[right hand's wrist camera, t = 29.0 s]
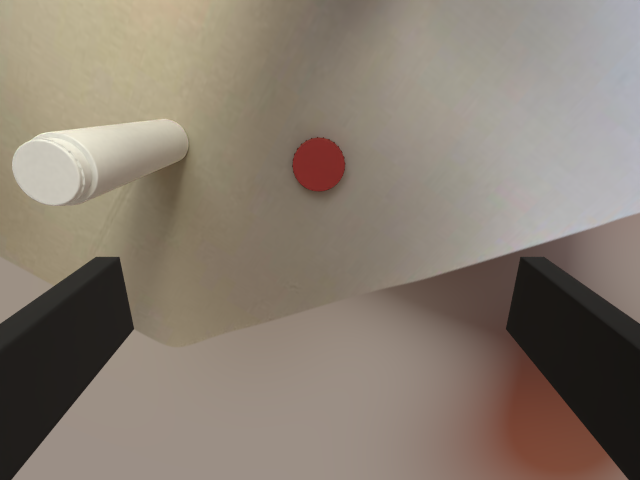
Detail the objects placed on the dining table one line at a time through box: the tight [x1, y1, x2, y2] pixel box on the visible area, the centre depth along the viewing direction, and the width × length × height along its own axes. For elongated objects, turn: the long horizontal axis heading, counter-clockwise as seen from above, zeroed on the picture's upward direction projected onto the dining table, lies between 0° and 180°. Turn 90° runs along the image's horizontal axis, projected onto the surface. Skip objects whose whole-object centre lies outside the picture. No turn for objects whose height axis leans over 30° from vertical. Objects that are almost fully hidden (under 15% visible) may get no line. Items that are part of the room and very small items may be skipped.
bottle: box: [12, 119, 189, 206], centre depth 31 cm, size 4×4×19 cm
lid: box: [292, 137, 345, 191], centre depth 39 cm, size 6×6×2 cm
